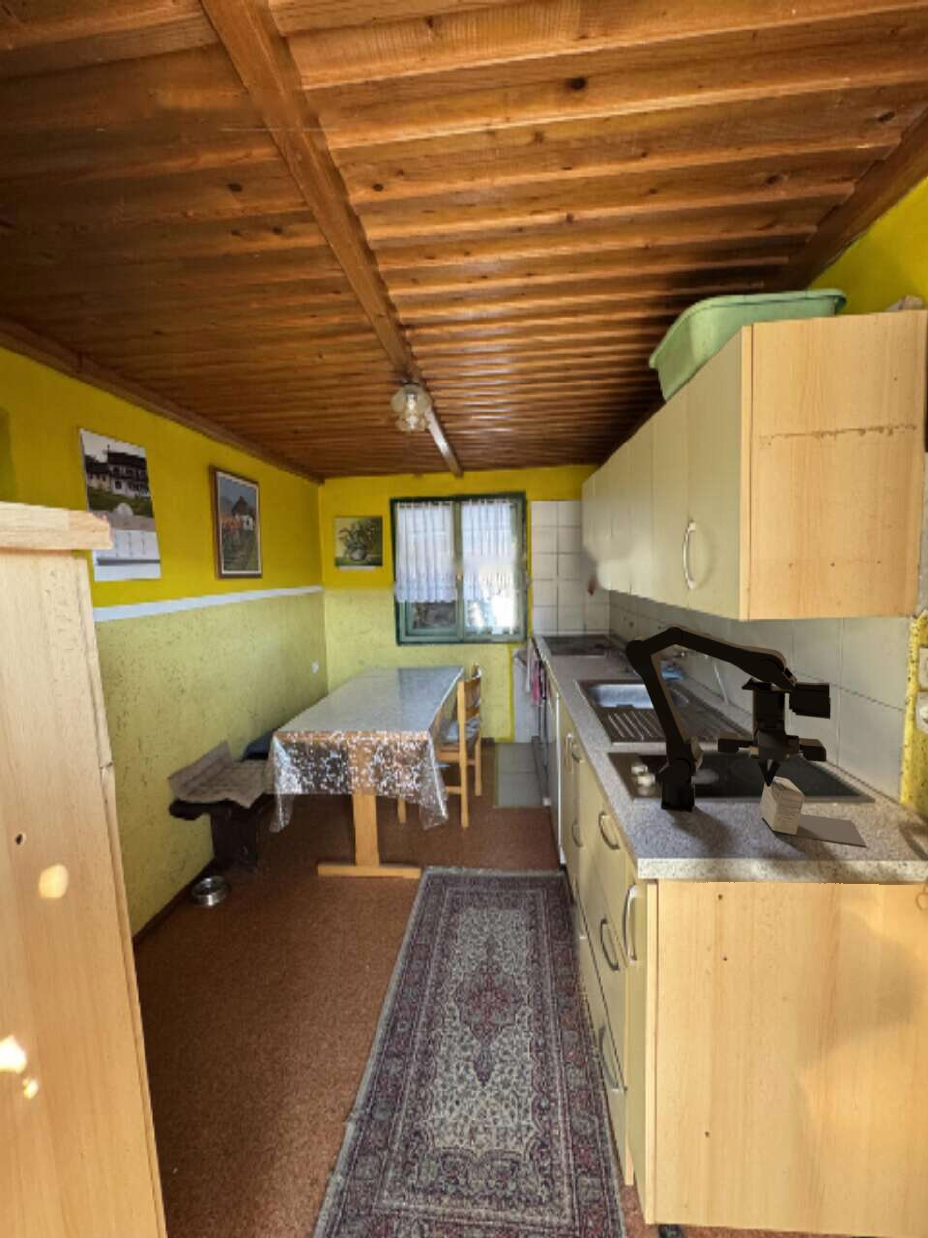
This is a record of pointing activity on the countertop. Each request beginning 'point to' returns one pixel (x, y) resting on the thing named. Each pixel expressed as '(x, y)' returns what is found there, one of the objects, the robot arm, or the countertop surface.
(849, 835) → the mat
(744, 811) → the countertop surface
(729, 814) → the countertop surface
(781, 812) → the wooden block
